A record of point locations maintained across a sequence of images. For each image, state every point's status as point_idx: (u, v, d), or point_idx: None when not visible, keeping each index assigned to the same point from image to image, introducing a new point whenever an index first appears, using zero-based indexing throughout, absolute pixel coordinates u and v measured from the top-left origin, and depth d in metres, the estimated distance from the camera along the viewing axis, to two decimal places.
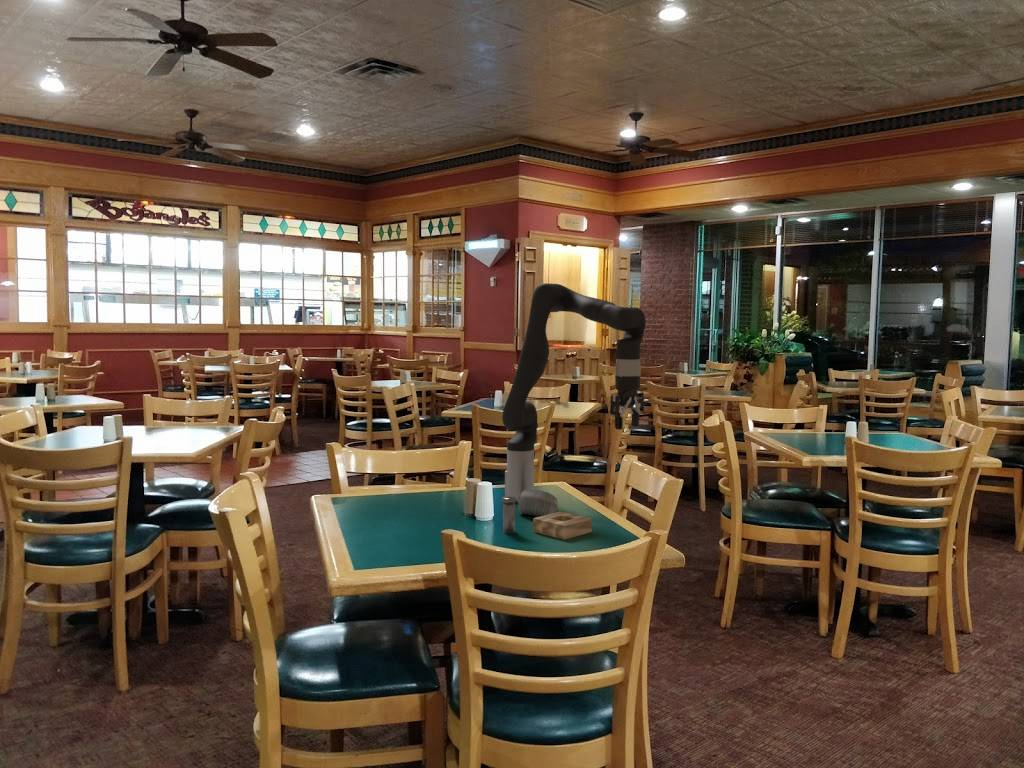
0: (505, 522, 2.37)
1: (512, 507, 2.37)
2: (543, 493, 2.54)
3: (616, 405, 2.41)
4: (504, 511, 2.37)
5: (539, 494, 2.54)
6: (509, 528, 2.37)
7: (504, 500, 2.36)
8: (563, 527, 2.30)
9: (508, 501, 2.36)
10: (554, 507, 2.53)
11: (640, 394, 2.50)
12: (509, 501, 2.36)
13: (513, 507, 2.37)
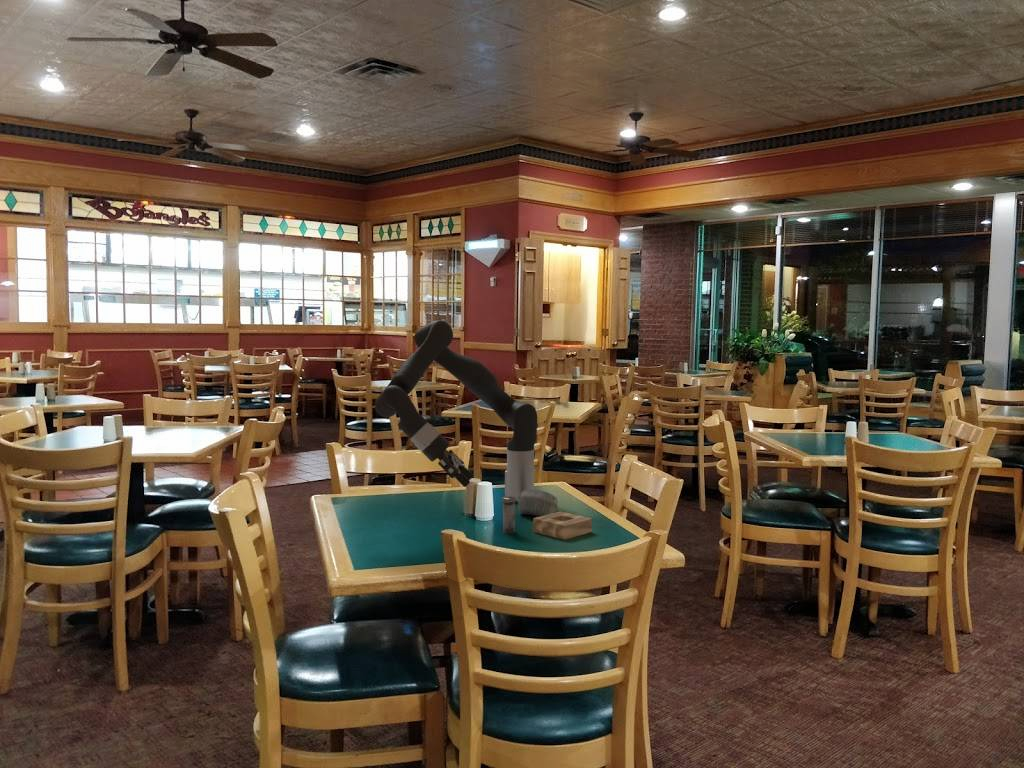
0: (505, 522, 2.37)
1: (512, 507, 2.37)
2: (543, 493, 2.54)
3: (450, 465, 2.31)
4: (504, 511, 2.37)
5: (539, 494, 2.54)
6: (509, 528, 2.37)
7: (504, 500, 2.36)
8: (563, 527, 2.30)
9: (508, 501, 2.36)
10: (554, 507, 2.53)
11: (450, 452, 2.44)
12: (509, 501, 2.36)
13: (513, 507, 2.37)
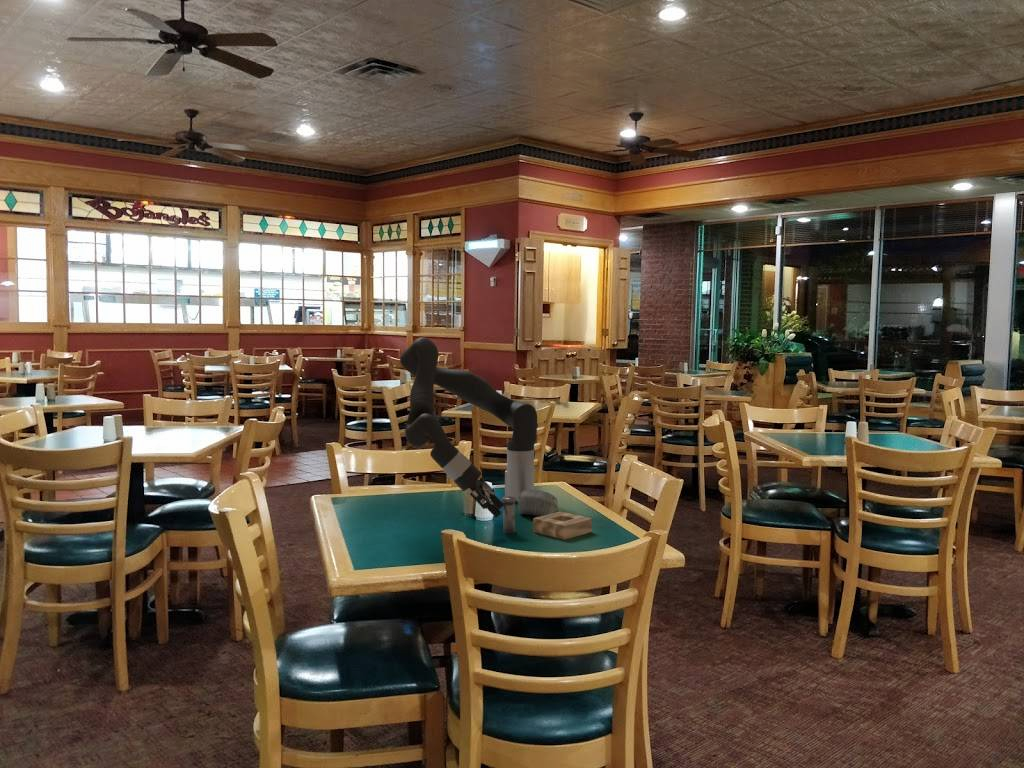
0: (505, 522, 2.37)
1: (512, 507, 2.37)
2: (543, 493, 2.54)
3: (482, 496, 2.31)
4: (504, 511, 2.37)
5: (539, 494, 2.54)
6: (509, 528, 2.37)
7: (504, 500, 2.36)
8: (563, 527, 2.30)
9: (508, 501, 2.36)
10: (554, 507, 2.53)
11: (481, 480, 2.44)
12: (509, 501, 2.36)
13: (513, 507, 2.37)
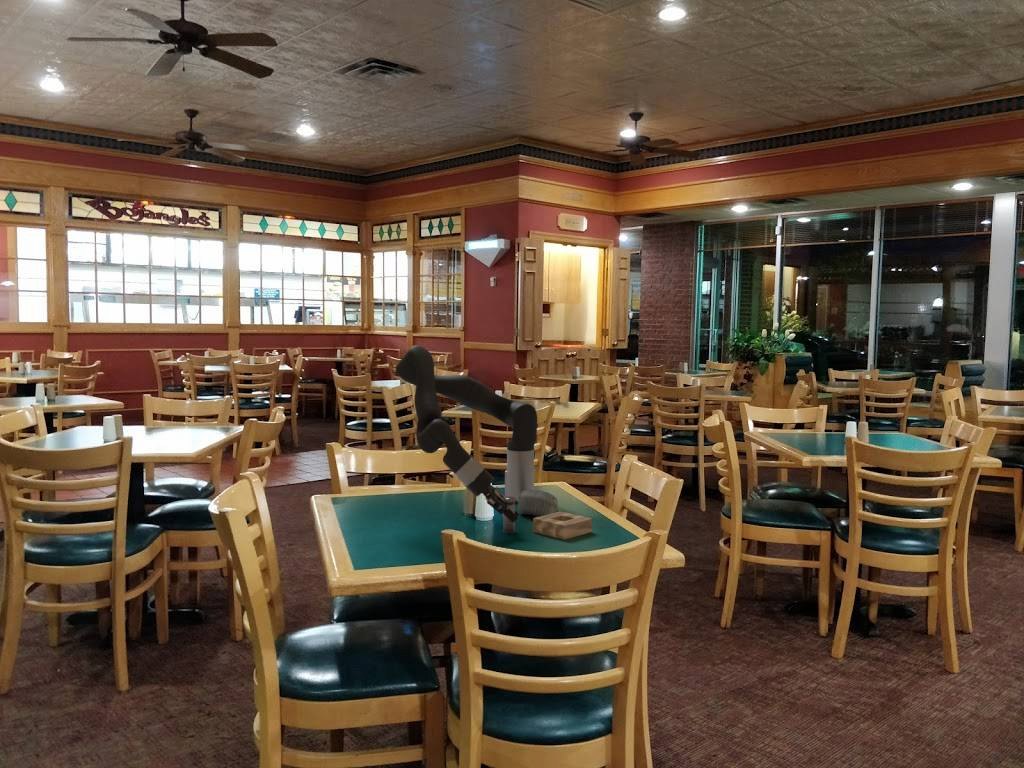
0: (505, 522, 2.37)
1: (512, 507, 2.37)
2: (543, 493, 2.54)
3: (499, 503, 2.32)
4: None
5: (539, 494, 2.54)
6: (509, 528, 2.37)
7: (504, 500, 2.36)
8: (563, 527, 2.30)
9: (508, 501, 2.36)
10: (554, 507, 2.53)
11: (496, 489, 2.43)
12: (509, 501, 2.36)
13: (513, 507, 2.37)
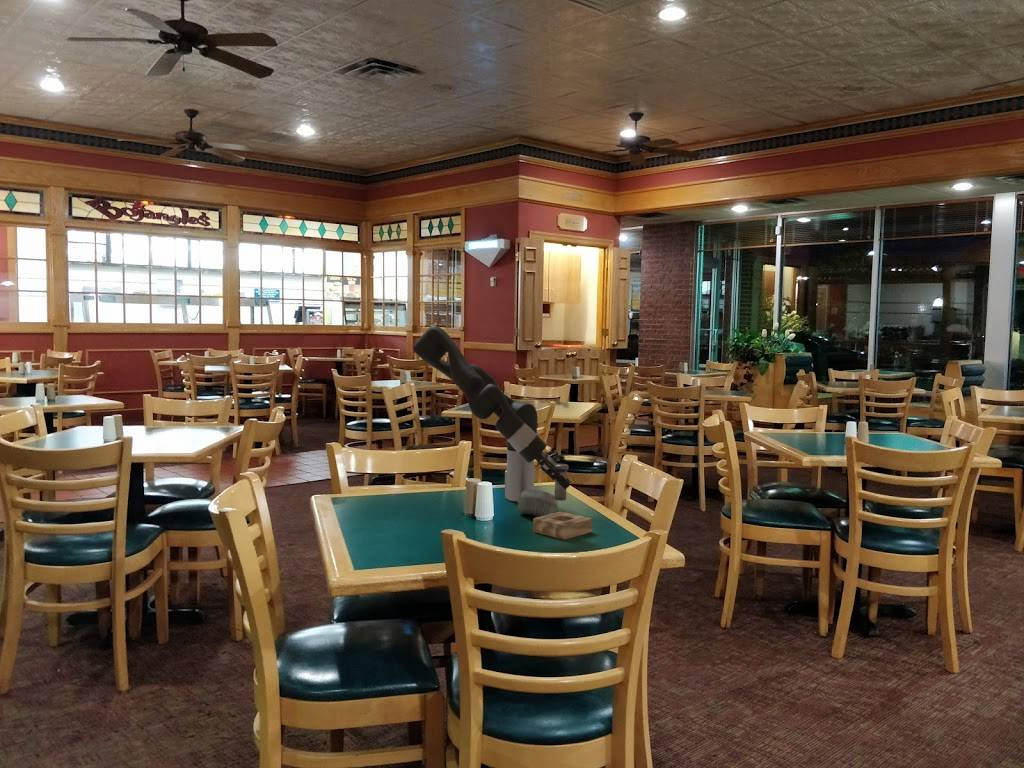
0: (557, 489, 2.37)
1: (564, 474, 2.36)
2: (543, 493, 2.54)
3: (553, 469, 2.32)
4: None
5: (539, 494, 2.54)
6: (561, 495, 2.36)
7: (557, 467, 2.36)
8: (563, 527, 2.30)
9: (561, 468, 2.35)
10: (554, 507, 2.53)
11: None
12: (562, 468, 2.35)
13: (565, 474, 2.37)
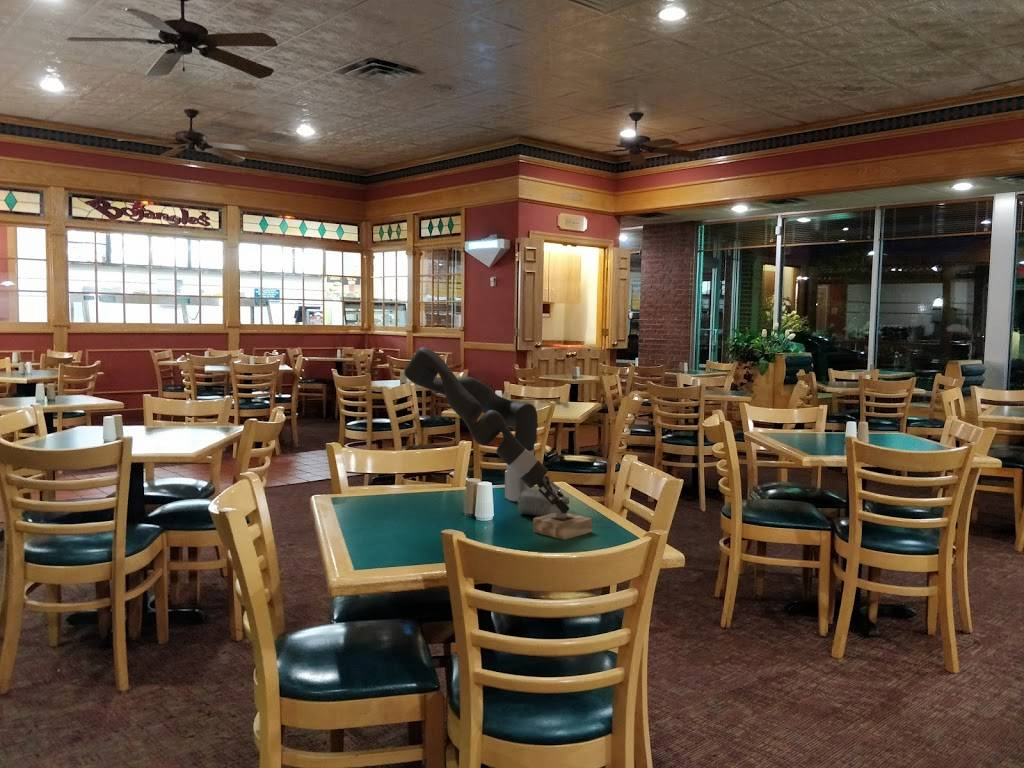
0: None
1: None
2: None
3: (551, 492, 2.31)
4: (557, 511, 2.37)
5: (539, 494, 2.54)
6: None
7: None
8: (563, 527, 2.30)
9: None
10: (554, 507, 2.53)
11: (546, 478, 2.44)
12: None
13: None
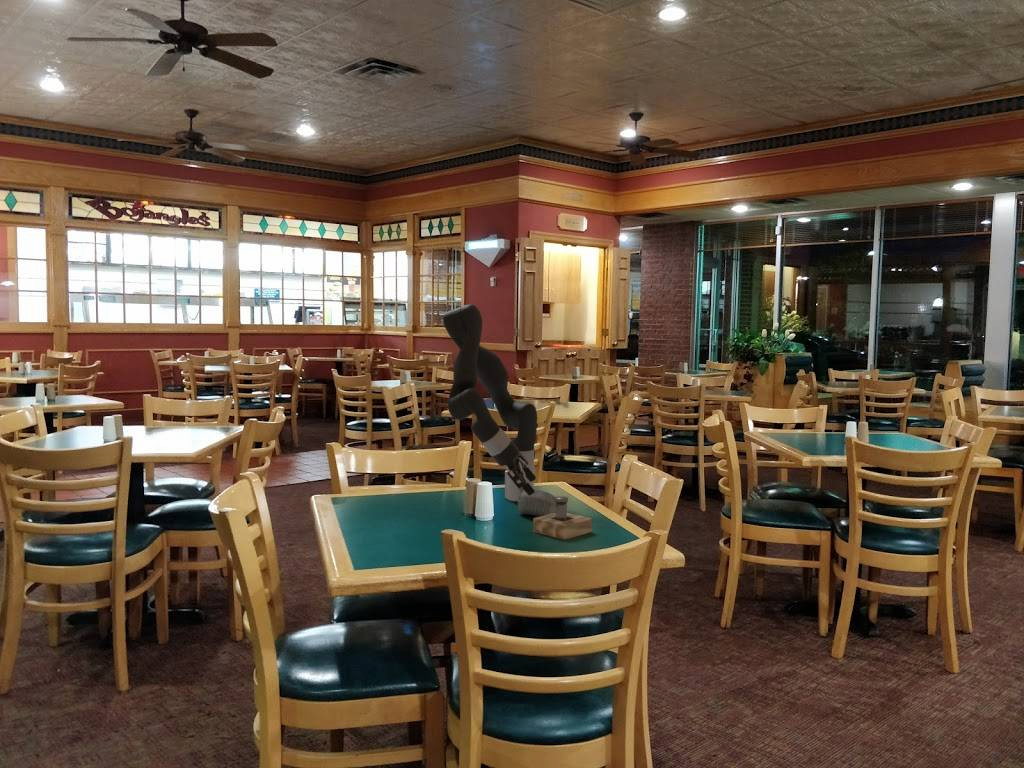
0: None
1: (564, 507, 2.37)
2: (543, 493, 2.54)
3: (519, 477, 2.36)
4: (556, 511, 2.37)
5: (539, 494, 2.54)
6: None
7: (556, 500, 2.36)
8: (563, 527, 2.30)
9: (560, 501, 2.36)
10: (554, 507, 2.53)
11: None
12: (561, 501, 2.36)
13: (565, 507, 2.37)
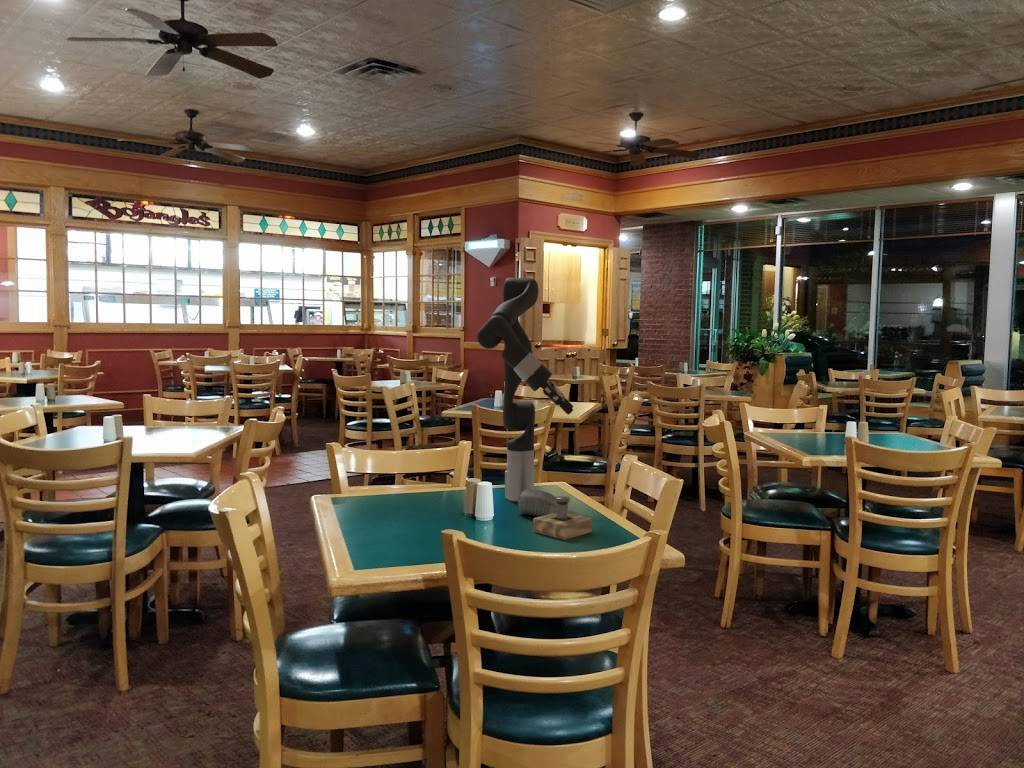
0: None
1: (565, 507, 2.37)
2: (543, 493, 2.54)
3: (555, 392, 2.36)
4: (557, 511, 2.37)
5: (539, 494, 2.54)
6: None
7: (558, 499, 2.36)
8: (563, 527, 2.30)
9: (562, 501, 2.36)
10: (554, 507, 2.53)
11: (550, 383, 2.48)
12: (563, 501, 2.36)
13: (566, 507, 2.37)
